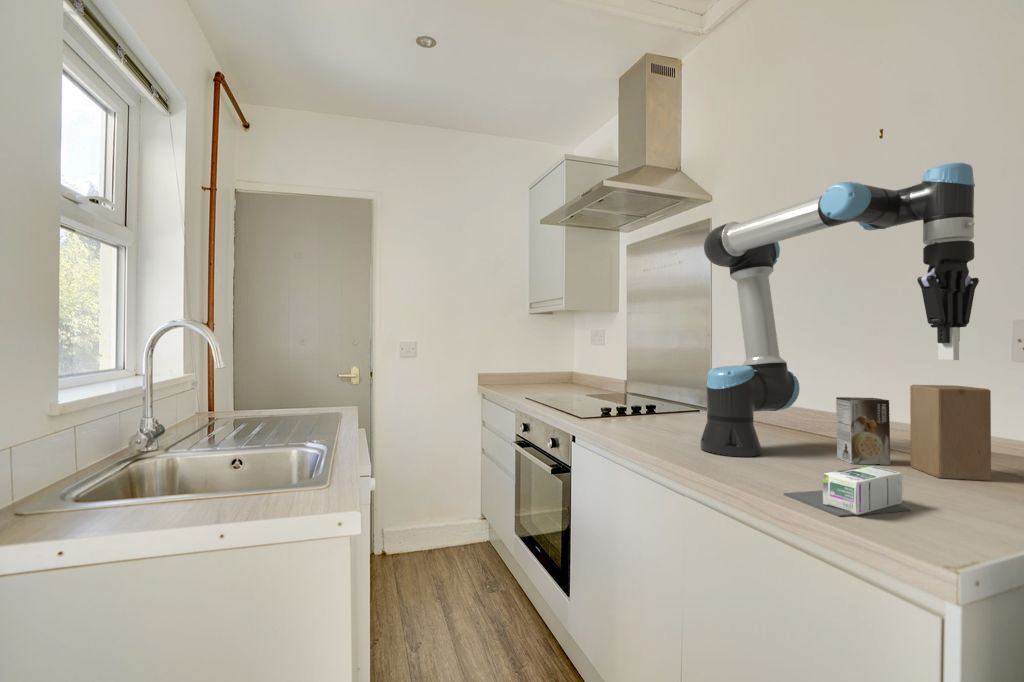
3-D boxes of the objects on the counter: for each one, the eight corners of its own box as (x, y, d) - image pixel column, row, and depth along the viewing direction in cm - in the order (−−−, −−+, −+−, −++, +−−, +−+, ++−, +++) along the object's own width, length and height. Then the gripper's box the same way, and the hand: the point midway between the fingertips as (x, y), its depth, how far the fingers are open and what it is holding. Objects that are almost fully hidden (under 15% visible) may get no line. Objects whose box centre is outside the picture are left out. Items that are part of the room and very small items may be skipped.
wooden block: (992, 481, 100) (991, 389, 100) (938, 478, 102) (938, 388, 102) (958, 469, 110) (957, 385, 110) (909, 467, 112) (909, 384, 112)
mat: (846, 490, 93) (846, 488, 93) (909, 510, 81) (909, 509, 81) (783, 494, 90) (783, 493, 90) (839, 516, 78) (839, 515, 78)
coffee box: (873, 459, 120) (873, 397, 120) (891, 465, 113) (891, 400, 113) (835, 458, 121) (835, 396, 121) (851, 464, 114) (850, 399, 114)
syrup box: (903, 472, 84) (857, 480, 78) (903, 504, 84) (856, 515, 78) (868, 464, 90) (822, 471, 83) (867, 495, 89) (821, 504, 83)
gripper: (943, 237, 88) (944, 360, 88) (995, 240, 91) (995, 360, 91) (903, 245, 96) (903, 359, 95) (951, 248, 99) (952, 359, 98)
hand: (948, 359), depth 93 cm, fingers closed
